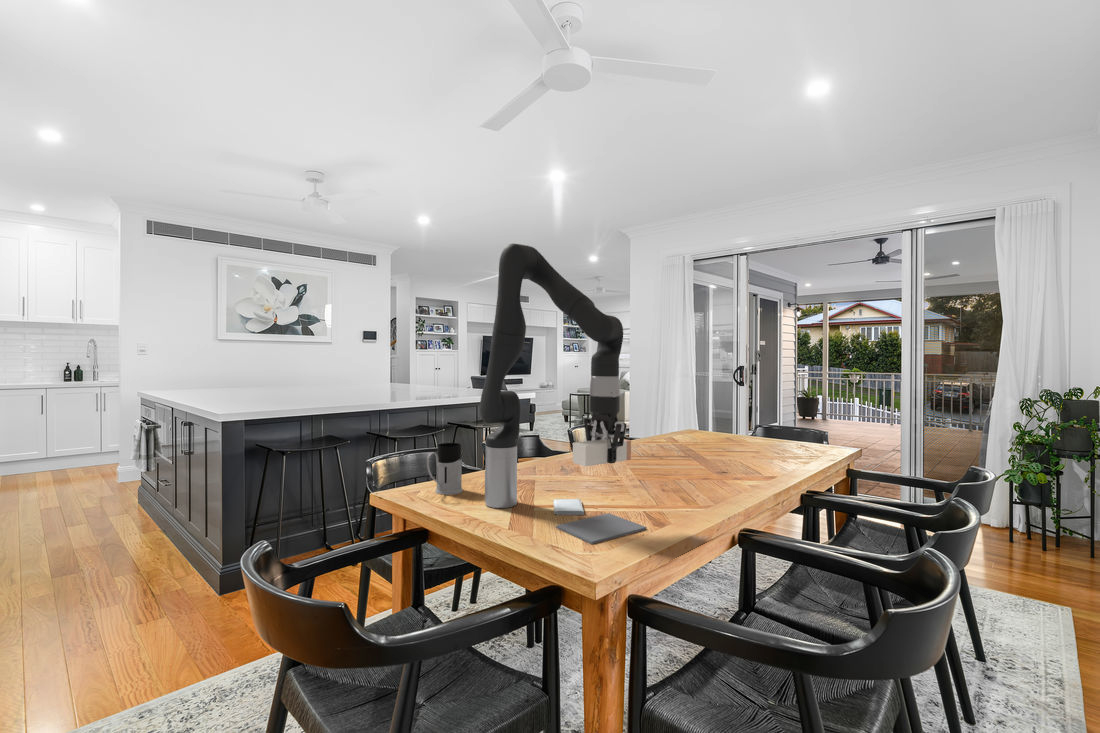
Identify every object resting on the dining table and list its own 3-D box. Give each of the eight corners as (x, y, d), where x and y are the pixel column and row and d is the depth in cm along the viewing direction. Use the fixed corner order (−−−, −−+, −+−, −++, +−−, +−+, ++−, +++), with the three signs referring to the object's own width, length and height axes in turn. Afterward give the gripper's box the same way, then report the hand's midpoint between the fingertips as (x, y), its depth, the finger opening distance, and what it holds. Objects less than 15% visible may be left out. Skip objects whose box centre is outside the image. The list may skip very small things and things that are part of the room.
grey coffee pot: (468, 490, 166) (468, 444, 166) (438, 500, 154) (438, 450, 153) (447, 486, 170) (448, 441, 170) (417, 496, 158) (417, 448, 158)
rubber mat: (556, 527, 129) (556, 525, 129) (609, 515, 140) (609, 513, 140) (591, 544, 118) (591, 541, 118) (646, 529, 128) (646, 527, 128)
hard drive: (584, 511, 140) (580, 498, 152) (554, 511, 140) (553, 498, 152) (584, 517, 140) (580, 503, 153) (554, 517, 140) (553, 504, 152)
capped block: (572, 442, 126) (617, 437, 135) (572, 462, 127) (617, 456, 135) (585, 445, 122) (631, 440, 131) (585, 466, 122) (630, 459, 131)
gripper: (575, 392, 132) (574, 458, 133) (612, 396, 121) (612, 468, 121) (597, 391, 137) (596, 455, 137) (635, 395, 125) (634, 464, 125)
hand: (604, 460), depth 129 cm, fingers closed on capped block, 5 cm apart
